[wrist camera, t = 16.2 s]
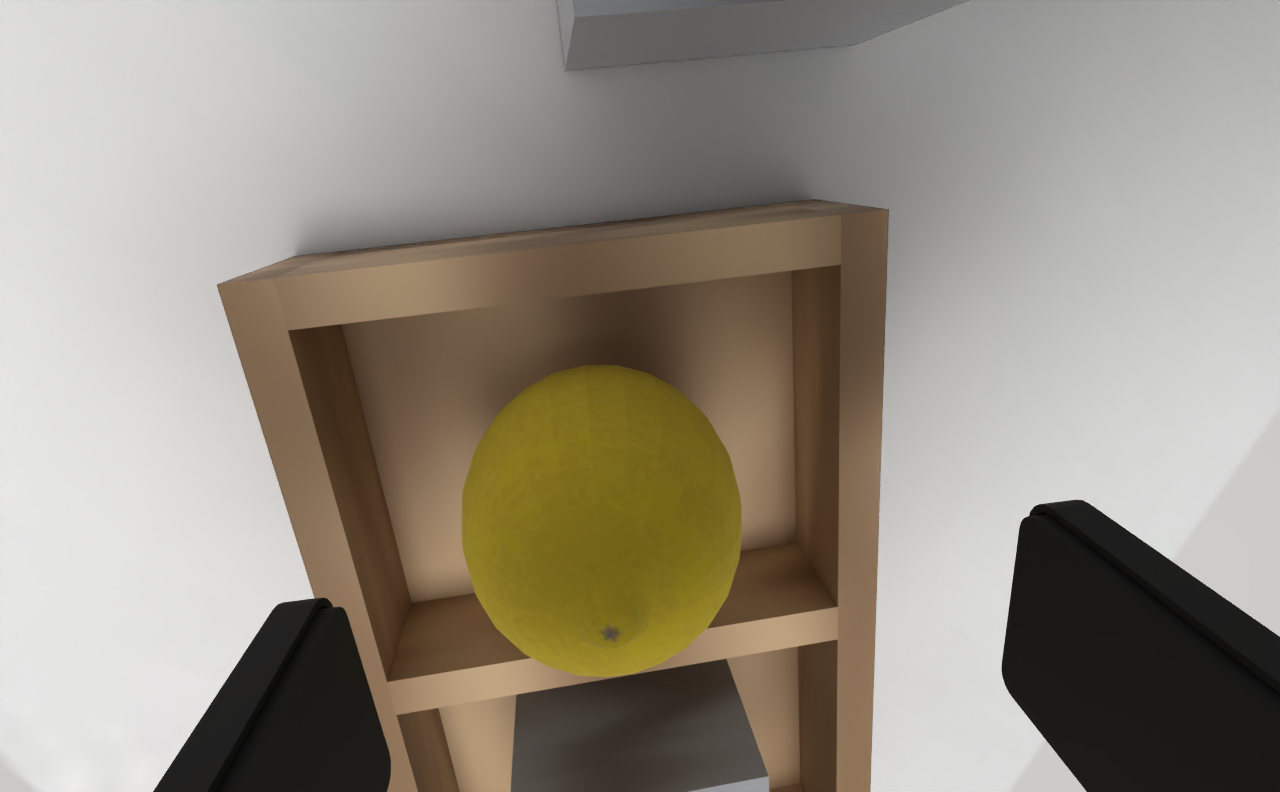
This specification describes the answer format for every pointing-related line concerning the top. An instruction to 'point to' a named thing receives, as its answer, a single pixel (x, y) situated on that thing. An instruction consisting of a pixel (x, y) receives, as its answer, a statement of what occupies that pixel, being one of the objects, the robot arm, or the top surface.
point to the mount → (722, 27)
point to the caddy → (489, 380)
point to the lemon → (601, 521)
